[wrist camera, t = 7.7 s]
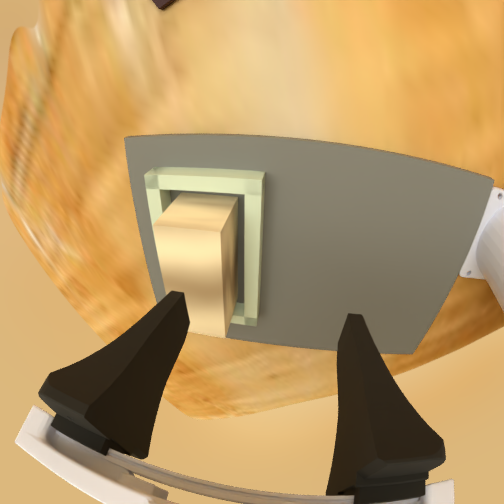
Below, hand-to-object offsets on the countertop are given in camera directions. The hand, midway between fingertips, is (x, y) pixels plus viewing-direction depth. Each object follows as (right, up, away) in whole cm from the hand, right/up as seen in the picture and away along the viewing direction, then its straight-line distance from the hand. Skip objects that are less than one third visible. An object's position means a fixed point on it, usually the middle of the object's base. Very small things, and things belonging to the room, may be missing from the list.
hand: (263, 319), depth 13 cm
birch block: (-3, +3, +9) cm, 10 cm away
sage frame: (-3, +3, +10) cm, 11 cm away
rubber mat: (+3, +2, +9) cm, 10 cm away
